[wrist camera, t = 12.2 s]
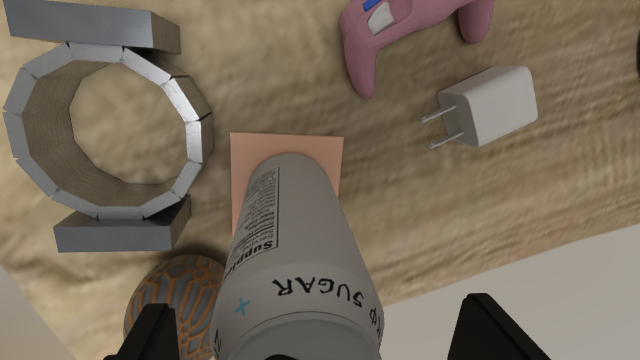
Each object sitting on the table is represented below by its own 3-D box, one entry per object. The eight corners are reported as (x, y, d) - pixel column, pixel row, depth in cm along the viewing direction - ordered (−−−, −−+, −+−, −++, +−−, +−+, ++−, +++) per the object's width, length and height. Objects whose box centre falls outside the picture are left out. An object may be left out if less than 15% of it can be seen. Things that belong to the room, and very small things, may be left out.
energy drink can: (303, 236, 25) (333, 463, 11) (233, 203, 23) (161, 421, 9) (344, 174, 23) (441, 342, 9) (273, 134, 21) (259, 266, 8)
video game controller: (451, -9, 23) (501, -106, 16) (483, 44, 22) (550, -31, 15) (329, 53, 23) (326, -15, 16) (358, 107, 22) (368, 61, 15)
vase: (212, 324, 27) (186, 435, 18) (133, 291, 25) (65, 401, 16) (255, 264, 25) (249, 355, 17) (176, 224, 23) (126, 306, 15)
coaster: (342, 136, 23) (343, 137, 23) (333, 232, 26) (334, 235, 25) (231, 131, 22) (230, 132, 21) (233, 233, 24) (232, 236, 24)
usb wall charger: (498, 115, 25) (539, 123, 21) (419, 152, 25) (446, 166, 21) (487, 66, 23) (530, 64, 19) (404, 105, 23) (430, 111, 19)
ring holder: (35, 12, 18) (-47, -9, 13) (209, 29, 20) (190, 15, 15) (74, 214, 22) (21, 253, 17) (216, 214, 24) (203, 249, 19)
